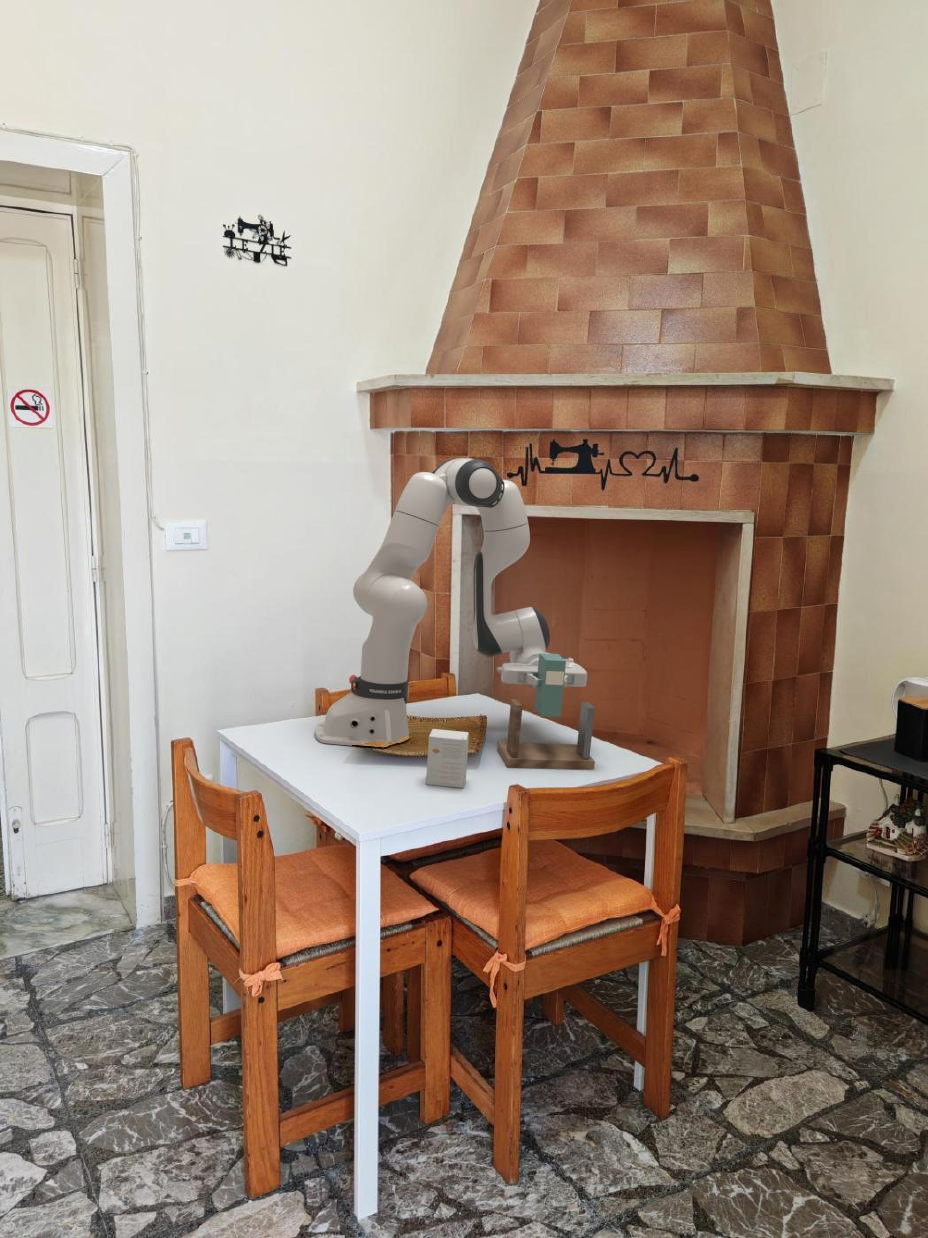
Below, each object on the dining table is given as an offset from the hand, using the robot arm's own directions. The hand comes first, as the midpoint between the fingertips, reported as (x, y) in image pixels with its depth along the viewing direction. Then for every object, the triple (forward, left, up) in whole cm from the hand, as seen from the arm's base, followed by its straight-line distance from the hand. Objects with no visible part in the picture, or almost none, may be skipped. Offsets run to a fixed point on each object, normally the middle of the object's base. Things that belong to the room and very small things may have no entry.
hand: (551, 683), depth 210 cm
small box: (-25, -17, -18) cm, 35 cm away
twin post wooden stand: (0, -1, -18) cm, 18 cm away
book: (0, +1, -7) cm, 7 cm away
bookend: (+8, -3, -16) cm, 18 cm away
